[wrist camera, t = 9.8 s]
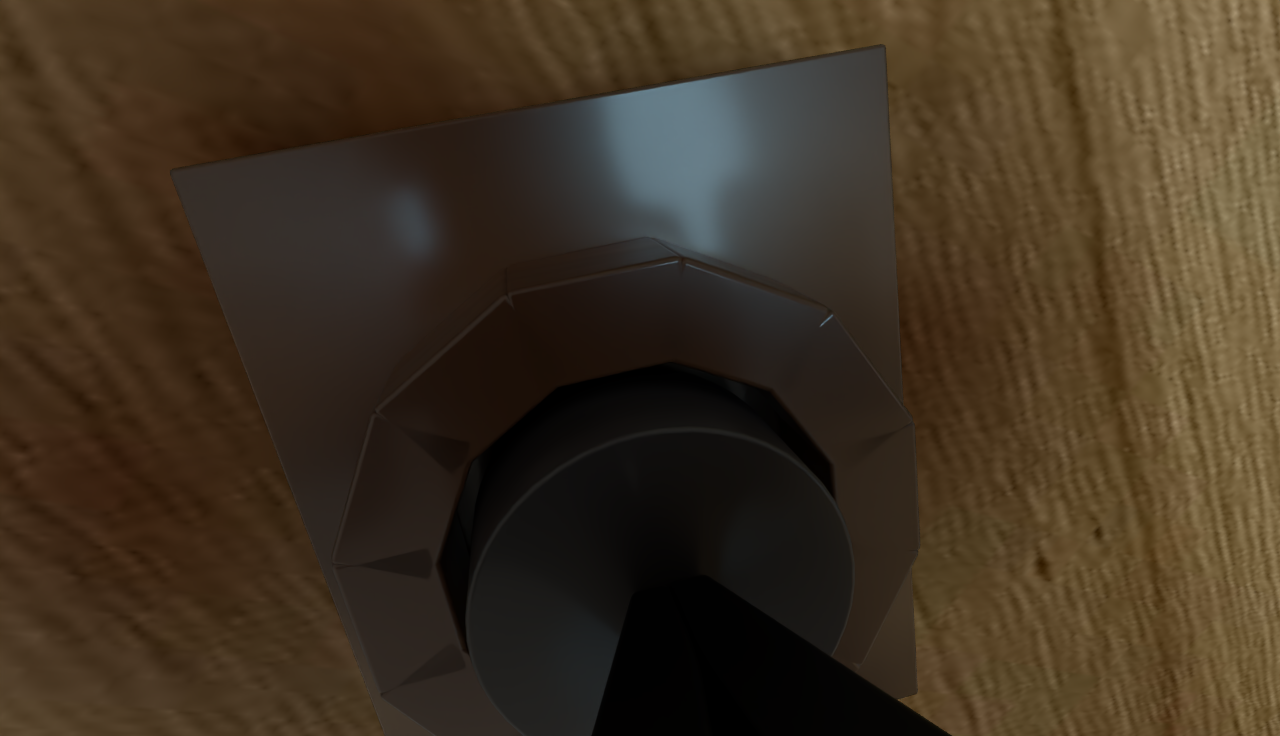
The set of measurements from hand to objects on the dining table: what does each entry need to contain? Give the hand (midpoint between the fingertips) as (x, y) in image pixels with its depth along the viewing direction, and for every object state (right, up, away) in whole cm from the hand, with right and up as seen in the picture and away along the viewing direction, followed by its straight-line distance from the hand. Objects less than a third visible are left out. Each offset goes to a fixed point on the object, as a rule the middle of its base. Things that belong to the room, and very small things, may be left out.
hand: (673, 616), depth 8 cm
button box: (-1, +2, +5) cm, 5 cm away
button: (0, +1, +2) cm, 2 cm away
